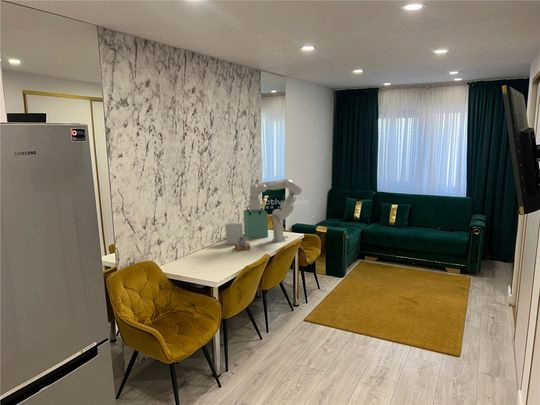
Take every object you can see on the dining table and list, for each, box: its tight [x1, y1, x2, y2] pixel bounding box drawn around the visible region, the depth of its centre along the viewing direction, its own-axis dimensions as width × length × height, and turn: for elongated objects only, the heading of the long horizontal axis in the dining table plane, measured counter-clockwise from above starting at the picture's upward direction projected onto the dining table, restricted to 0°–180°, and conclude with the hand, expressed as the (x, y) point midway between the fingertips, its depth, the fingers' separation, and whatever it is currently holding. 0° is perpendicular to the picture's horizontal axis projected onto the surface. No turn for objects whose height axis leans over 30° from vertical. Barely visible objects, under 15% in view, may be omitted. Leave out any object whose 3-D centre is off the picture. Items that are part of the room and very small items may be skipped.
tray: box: [234, 242, 251, 252], centre depth 356 cm, size 12×12×4 cm
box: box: [243, 208, 269, 240], centre depth 403 cm, size 23×21×26 cm
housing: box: [239, 236, 247, 246], centre depth 355 cm, size 8×5×7 cm, turn 16°
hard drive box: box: [225, 222, 244, 245], centre depth 375 cm, size 16×8×20 cm, turn 84°
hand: (255, 215), depth 367 cm, fingers open, 9 cm apart
